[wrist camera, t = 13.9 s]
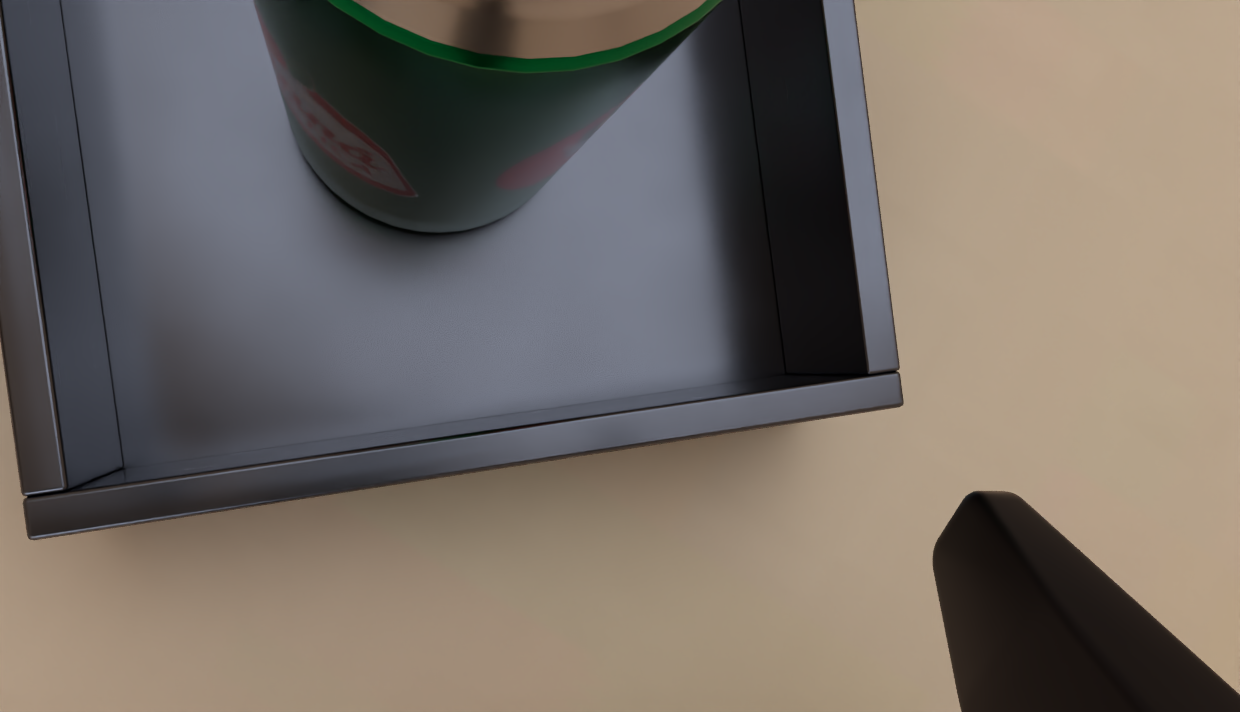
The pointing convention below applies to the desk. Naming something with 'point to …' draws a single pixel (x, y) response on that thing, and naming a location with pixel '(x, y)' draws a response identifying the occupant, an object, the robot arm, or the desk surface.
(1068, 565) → the robot arm
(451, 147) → the soda can
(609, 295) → the black tray
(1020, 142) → the desk surface
